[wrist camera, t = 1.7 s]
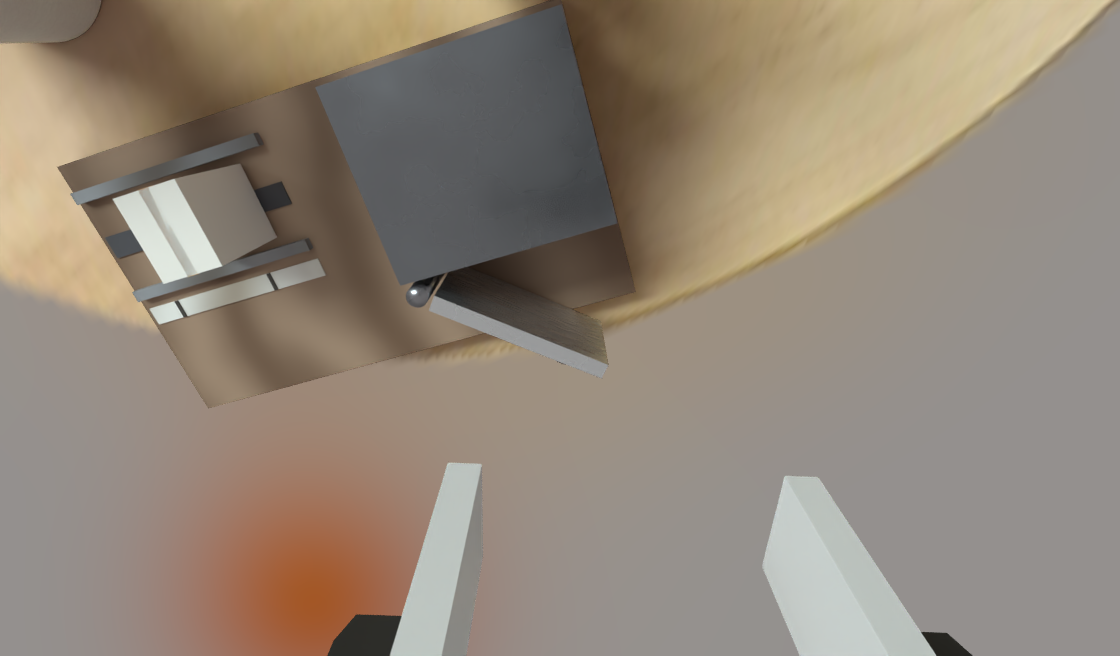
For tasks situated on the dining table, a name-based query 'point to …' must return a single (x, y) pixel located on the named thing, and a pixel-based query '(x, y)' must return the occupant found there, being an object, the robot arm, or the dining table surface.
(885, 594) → the robot arm
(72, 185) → the console
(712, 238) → the dining table surface
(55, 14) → the coffee cup
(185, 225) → the fader knob
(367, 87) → the open box
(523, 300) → the door
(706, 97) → the dining table surface
